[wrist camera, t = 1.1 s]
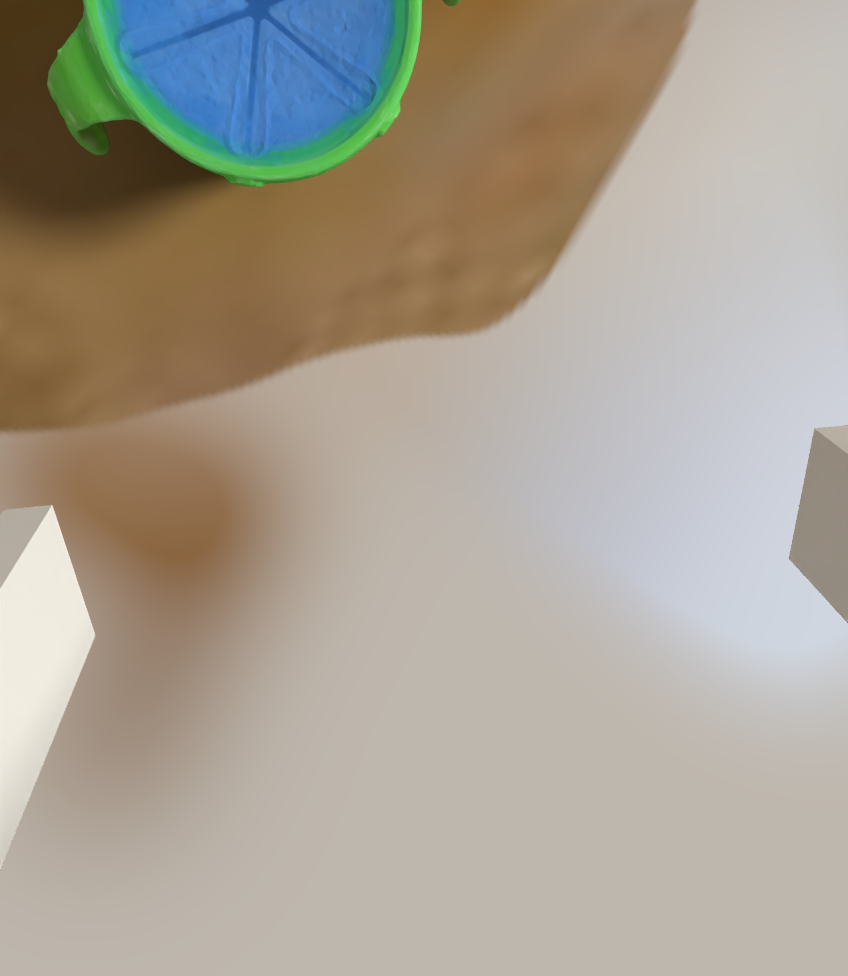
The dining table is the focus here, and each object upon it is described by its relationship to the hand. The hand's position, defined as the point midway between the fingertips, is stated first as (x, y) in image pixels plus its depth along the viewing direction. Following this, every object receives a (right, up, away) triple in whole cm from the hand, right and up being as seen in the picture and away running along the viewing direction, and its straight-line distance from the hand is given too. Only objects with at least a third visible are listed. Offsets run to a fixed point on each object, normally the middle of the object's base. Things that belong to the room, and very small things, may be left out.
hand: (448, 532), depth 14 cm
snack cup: (-7, +19, +20) cm, 29 cm away
